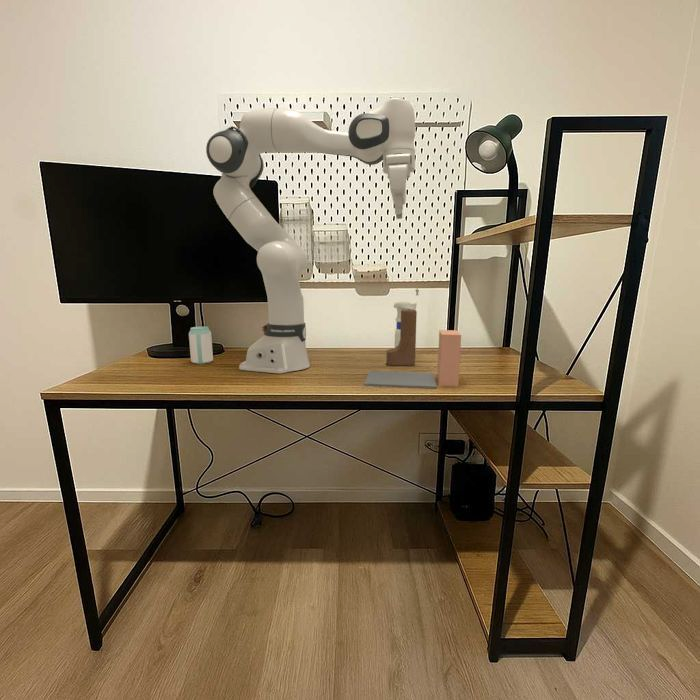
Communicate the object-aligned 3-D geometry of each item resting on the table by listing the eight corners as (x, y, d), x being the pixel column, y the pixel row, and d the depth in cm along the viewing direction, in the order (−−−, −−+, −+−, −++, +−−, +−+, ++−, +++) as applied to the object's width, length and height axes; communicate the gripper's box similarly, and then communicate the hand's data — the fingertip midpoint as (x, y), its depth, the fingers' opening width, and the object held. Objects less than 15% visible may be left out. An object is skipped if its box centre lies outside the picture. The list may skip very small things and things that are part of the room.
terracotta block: (439, 385, 106) (441, 334, 103) (437, 377, 114) (439, 330, 111) (458, 386, 105) (461, 334, 102) (455, 378, 113) (457, 330, 110)
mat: (364, 385, 106) (364, 383, 106) (369, 372, 119) (369, 370, 119) (436, 388, 103) (436, 386, 103) (433, 375, 117) (433, 373, 117)
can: (193, 360, 137) (190, 326, 134) (214, 359, 138) (212, 325, 136) (189, 365, 130) (186, 329, 128) (211, 364, 131) (208, 328, 129)
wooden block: (387, 365, 129) (388, 310, 125) (386, 362, 133) (387, 309, 129) (415, 365, 129) (416, 310, 125) (412, 362, 133) (414, 309, 129)
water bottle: (405, 352, 149) (407, 286, 144) (420, 356, 142) (423, 286, 137) (388, 355, 145) (389, 286, 140) (402, 359, 138) (404, 287, 133)
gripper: (389, 174, 120) (389, 221, 122) (385, 154, 100) (385, 211, 103) (410, 172, 119) (409, 220, 121) (410, 153, 99) (409, 210, 102)
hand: (398, 216), depth 112 cm, fingers open, 8 cm apart
